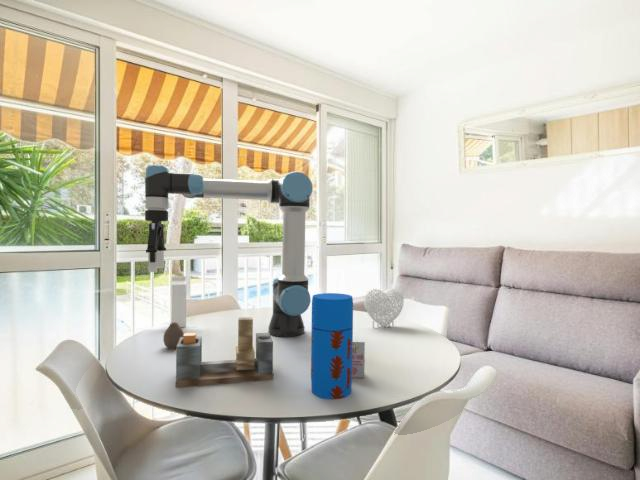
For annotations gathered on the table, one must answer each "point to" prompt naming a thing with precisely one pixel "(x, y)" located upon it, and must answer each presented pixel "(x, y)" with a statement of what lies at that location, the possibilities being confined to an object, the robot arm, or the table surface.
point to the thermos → (331, 345)
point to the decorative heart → (383, 306)
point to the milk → (178, 300)
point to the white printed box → (358, 360)
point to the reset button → (189, 338)
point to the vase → (172, 335)
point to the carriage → (245, 344)
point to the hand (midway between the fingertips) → (156, 270)
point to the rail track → (225, 378)
